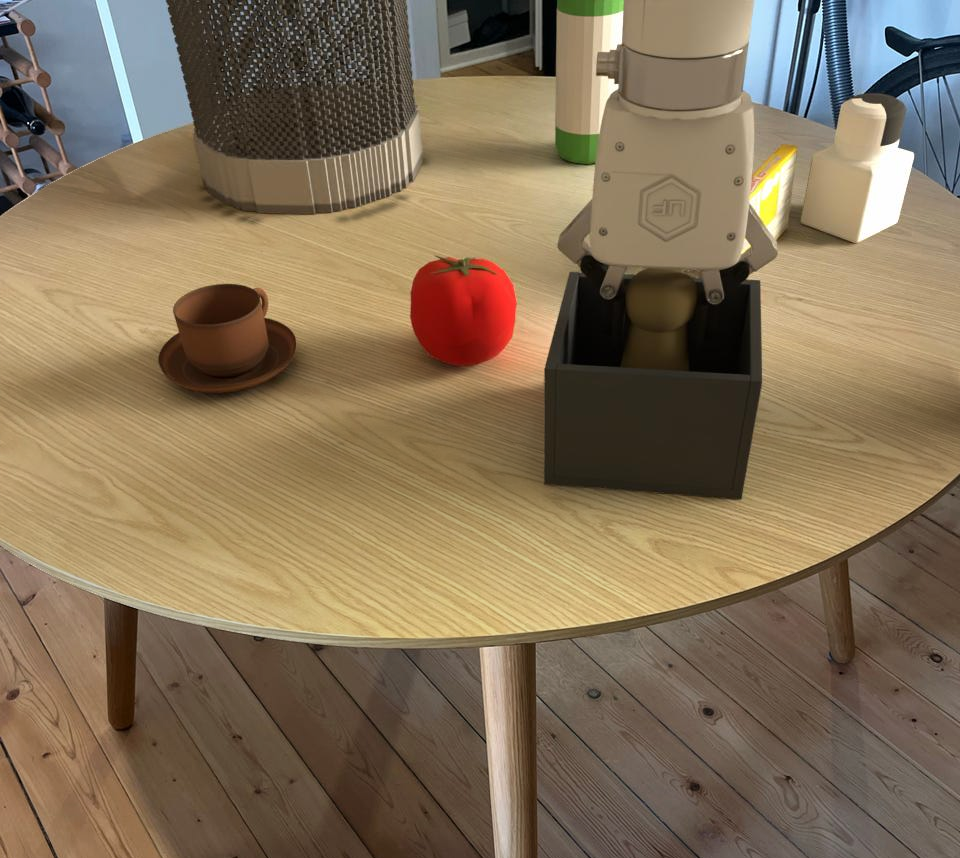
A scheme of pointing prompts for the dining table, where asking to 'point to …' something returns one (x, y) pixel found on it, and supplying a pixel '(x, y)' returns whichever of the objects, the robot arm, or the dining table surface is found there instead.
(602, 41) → the wine bottle
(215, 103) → the wastebasket
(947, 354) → the dining table surface
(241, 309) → the cup and saucer
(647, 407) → the bin
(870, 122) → the medicine bottle
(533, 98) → the dining table surface
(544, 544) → the dining table surface
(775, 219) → the candy box
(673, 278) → the brown pawn
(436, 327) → the tomato
